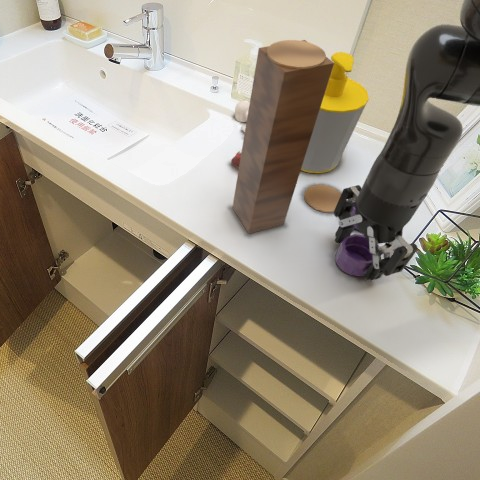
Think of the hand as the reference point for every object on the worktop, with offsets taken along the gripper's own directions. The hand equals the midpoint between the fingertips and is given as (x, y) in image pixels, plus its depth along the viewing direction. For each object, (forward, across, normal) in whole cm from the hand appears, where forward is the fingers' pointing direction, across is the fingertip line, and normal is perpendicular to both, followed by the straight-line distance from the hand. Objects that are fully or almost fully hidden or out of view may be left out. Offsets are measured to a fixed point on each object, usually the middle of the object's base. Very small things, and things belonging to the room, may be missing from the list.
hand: (354, 258), depth 68 cm
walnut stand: (+1, -15, -10) cm, 18 cm away
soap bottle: (+1, -27, +9) cm, 28 cm away
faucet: (+3, -36, +2) cm, 37 cm away
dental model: (+1, -29, -5) cm, 29 cm away
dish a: (+1, 0, 0) cm, 1 cm away
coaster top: (-29, -15, -10) cm, 34 cm away
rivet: (+2, -36, 0) cm, 36 cm away
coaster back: (+1, -15, +4) cm, 15 cm away
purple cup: (+1, -8, +7) cm, 11 cm away
